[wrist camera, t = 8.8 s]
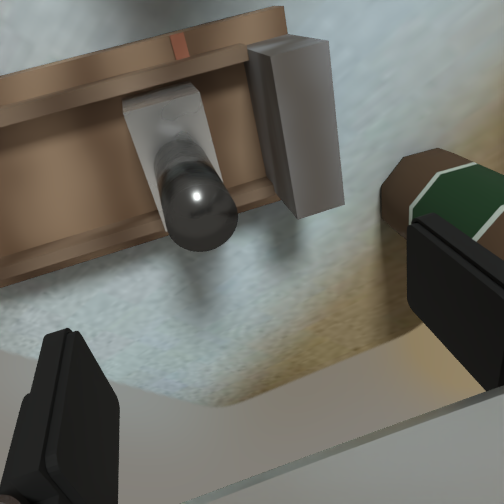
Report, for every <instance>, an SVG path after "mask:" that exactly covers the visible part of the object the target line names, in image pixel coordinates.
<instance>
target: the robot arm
mask: <svg viewBox="0 0 504 504" xmlns="http://www.w3.org/2000/svg"><path fill="white" fill-rule="evenodd" d="M407 300H408V304H409V306H410V308H411V309H412V310H413V312H414V313H415V314H416V315H417V316H418V317H419V318H420V319H421V320H422V321H423V323H424V324H425V325H426V326H427V327H428V328H429V329H430V330H431V331H432V332H433V333H434V335H435V336H436V337H437V338H438V339H439V340H440V341H441V342H442V343H443V344H444V345H445V347H446V348H447V349H448V350H449V351H450V352H451V353H452V354H453V355H454V357H455V358H456V359H457V360H458V361H459V362H460V363H461V364H462V365H463V366H464V367H465V369H466V370H467V371H468V372H469V373H470V374H471V375H472V376H473V377H474V378H475V380H476V381H477V382H478V383H479V384H480V385H481V386H482V387H483V388H484V389H485V390H486V392H483V393H481V394H478V395H475V396H472V397H469V398H467V399H464V400H461V401H458V402H456V403H453V404H450V405H447V406H444V407H442V408H439V409H436V410H433V411H431V412H428V413H425V414H422V415H419V416H417V417H414V418H411V419H408V420H405V421H403V422H400V423H397V424H394V425H392V426H389V427H386V428H384V429H381V430H378V431H375V432H373V433H370V434H367V435H364V436H362V437H359V438H357V439H353V440H351V441H348V442H345V443H342V444H340V445H337V446H334V447H332V448H329V449H326V450H323V451H321V452H318V453H315V454H313V455H310V456H307V457H304V458H302V459H299V460H296V461H294V462H291V463H288V464H285V465H283V466H280V467H277V468H275V469H272V470H269V471H267V472H264V473H261V474H258V475H256V476H253V477H250V478H248V479H245V480H242V481H240V482H237V483H234V484H231V485H229V486H226V487H223V488H221V489H218V490H216V491H213V492H210V493H208V494H205V495H202V496H199V497H197V498H194V499H191V500H189V501H186V502H183V503H181V504H504V261H503V260H502V259H500V258H499V257H498V256H496V255H495V254H493V253H492V252H490V251H489V250H488V249H486V248H485V247H483V246H482V245H480V244H479V243H478V242H476V241H475V240H473V239H472V238H470V237H469V236H468V235H466V234H465V233H463V232H462V231H460V230H459V229H458V228H456V227H455V226H453V225H452V224H450V223H449V222H447V221H446V220H445V219H443V218H442V217H440V216H439V215H437V214H436V213H429V214H426V215H423V216H420V217H416V218H414V219H413V220H412V222H411V225H409V226H408V227H407ZM119 415H120V407H119V402H118V399H117V396H116V394H115V392H114V391H113V389H112V387H111V385H110V384H109V382H108V380H107V378H106V377H105V375H104V373H103V372H102V370H101V368H100V366H99V365H98V363H97V361H96V359H95V358H94V356H93V354H92V352H91V351H90V349H89V347H88V346H87V344H86V342H85V340H84V339H83V337H82V335H81V334H80V332H79V331H74V332H72V331H71V330H70V329H69V328H66V329H63V330H59V331H56V332H53V333H50V334H47V335H45V337H44V339H43V343H42V347H41V351H40V355H39V359H38V364H37V367H36V372H35V376H34V380H33V384H32V388H31V392H30V393H29V394H27V395H26V396H25V397H24V399H23V401H22V404H21V408H20V412H19V415H18V419H17V423H16V427H15V431H14V434H13V438H12V443H11V446H10V450H9V453H8V457H7V461H6V465H5V469H4V473H3V477H2V480H1V484H0V504H118V467H119V418H120V416H119Z"/></svg>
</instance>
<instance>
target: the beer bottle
mask: <svg viewBox="0 0 504 504" xmlns="http://www.w3.org/2000/svg"><path fill="white" fill-rule="evenodd" d="M381 204H382V219H383V220H384V221H385V222H386V223H387V224H389V225H390V226H391V227H392V228H393V229H394V230H395V231H396V232H398V233H399V234H400V235H401V236H403V237H404V238H405V239H406V240H407V227H408V226H409V225H411V222H412V220H413V219H414V218H416V217H420V216H423V215H426V214H429V213H436V214H437V215H439V216H440V217H442V218H443V219H445V220H446V221H447V222H449V223H450V224H452V225H453V226H455V227H456V228H458V229H459V230H460V231H462V232H463V233H465V234H466V235H468V236H469V237H470V238H472V239H473V240H475V241H476V242H478V243H479V244H480V245H482V246H483V247H485V248H486V249H488V250H489V251H490V252H492V253H493V254H495V255H496V256H498V257H499V258H500V259H502V260H503V261H504V175H502V174H500V173H497V172H495V171H493V170H491V169H488V168H486V167H484V166H481V165H479V164H477V163H475V162H472V161H470V160H468V159H465V158H463V157H461V156H459V155H456V154H454V153H451V152H448V151H446V150H443V149H440V148H436V149H432V150H428V151H424V152H421V153H417V154H413V155H410V156H406V157H403V158H402V159H401V161H400V162H399V163H398V165H397V166H396V167H395V169H394V170H393V171H392V172H391V174H390V175H389V176H388V178H387V179H386V180H385V182H384V183H383V184H382V185H381Z"/></svg>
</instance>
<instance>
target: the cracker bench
mask: <svg viewBox="0 0 504 504" xmlns="http://www.w3.org/2000/svg"><path fill="white" fill-rule="evenodd" d="M185 81H190V82H191V83H192V84H193V86H194V87H195V88H196V89H197V90H198V91H199V92H200V95H201V99H202V103H203V107H204V111H205V115H206V118H207V122H208V126H209V130H210V134H211V138H212V141H213V145H214V149H215V153H216V157H217V161H218V164H219V168H220V172H221V176H222V180H223V184H224V185H225V187H226V189H227V190H228V192H229V194H230V195H231V197H232V199H233V200H234V202H235V204H236V207H237V211H238V213H241V212H245V211H248V210H251V209H254V208H257V207H261V206H264V205H267V204H270V203H273V202H277V201H280V200H282V201H283V203H284V204H285V205H286V206H287V207H288V208H289V210H290V211H291V212H292V213H293V214H294V216H295V217H296V218H297V219H301V218H304V217H307V216H310V215H313V214H317V213H320V212H323V211H326V210H329V209H332V208H335V207H338V206H342V205H345V202H344V192H343V182H342V172H341V162H340V152H339V142H338V132H337V122H336V112H335V101H334V91H333V81H332V71H331V61H330V51H329V41H327V40H320V39H314V38H308V37H302V36H296V35H290V34H288V33H287V26H286V19H285V12H284V6H272V7H268V8H264V9H260V10H256V11H252V12H248V13H244V14H241V15H237V16H233V17H229V18H225V19H221V20H217V21H213V22H209V23H205V24H201V25H198V26H194V27H190V28H186V29H182V30H178V31H174V32H170V33H166V34H162V35H158V36H155V37H151V38H147V39H143V40H139V41H135V42H131V43H127V44H123V45H119V46H115V47H112V48H108V49H104V50H100V51H96V52H92V53H88V54H84V55H80V56H76V57H72V58H69V59H65V60H61V61H57V62H53V63H49V64H45V65H41V66H37V67H33V68H29V69H26V70H22V71H18V72H14V73H10V74H6V75H2V76H0V288H2V287H5V286H8V285H11V284H15V283H18V282H21V281H24V280H27V279H31V278H34V277H37V276H40V275H43V274H47V273H50V272H53V271H56V270H59V269H63V268H66V267H69V266H72V265H75V264H79V263H82V262H85V261H88V260H91V259H95V258H98V257H101V256H104V255H107V254H111V253H114V252H117V251H120V250H123V249H126V248H130V247H133V246H136V245H139V244H142V243H146V242H149V241H152V240H155V239H158V238H162V237H165V236H168V235H169V233H168V231H167V232H166V231H165V228H164V225H163V222H162V220H161V217H160V214H159V211H158V209H157V206H156V203H155V200H154V198H153V195H152V192H151V189H150V187H149V184H148V181H147V178H146V176H145V173H144V170H143V167H142V165H141V162H140V159H139V156H138V154H137V151H136V148H135V145H134V143H133V140H132V137H131V134H130V132H129V129H128V126H127V123H126V120H125V118H124V115H123V106H122V99H123V98H126V97H130V96H134V95H138V94H141V93H145V92H149V91H152V90H156V89H160V88H163V87H167V86H171V85H174V84H178V83H182V82H185Z"/></svg>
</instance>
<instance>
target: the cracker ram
mask: <svg viewBox="0 0 504 504" xmlns="http://www.w3.org/2000/svg"><path fill="white" fill-rule="evenodd" d="M122 106H123V115H124V118H125V120H126V123H127V126H128V129H129V132H130V134H131V137H132V140H133V143H134V145H135V148H136V151H137V154H138V156H139V159H140V162H141V165H142V167H143V170H144V173H145V176H146V178H147V181H148V184H149V187H150V189H151V192H152V195H153V198H154V200H155V203H156V206H157V209H158V211H159V214H160V217H161V220H162V222H163V225H164V228H165V231H166V232H167V231H168V233H169V235H170V237H171V238H172V240H173V241H174V242H175V243H176V244H177V245H179V246H180V247H182V248H184V249H187V250H190V251H196V252H203V251H209V250H212V249H215V248H217V247H219V246H221V245H222V244H224V243H225V242H226V241H227V240H228V239H229V238H230V237H231V235H232V234H233V232H234V231H235V228H236V226H237V222H238V211H237V207H236V204H235V202H234V200H233V199H232V197H231V195H230V194H229V192H228V190H227V189H226V187H225V185H224V184H223V180H222V176H221V172H220V168H219V164H218V161H217V157H216V153H215V149H214V145H213V141H212V138H211V134H210V130H209V126H208V122H207V118H206V115H205V111H204V107H203V103H202V99H201V95H200V92H199V91H198V90H197V89H196V88H195V87H194V86H193V84H192V83H191V82H190V81H185V82H182V83H178V84H174V85H171V86H167V87H163V88H160V89H156V90H152V91H149V92H145V93H141V94H138V95H134V96H130V97H126V98H123V99H122Z"/></svg>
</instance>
